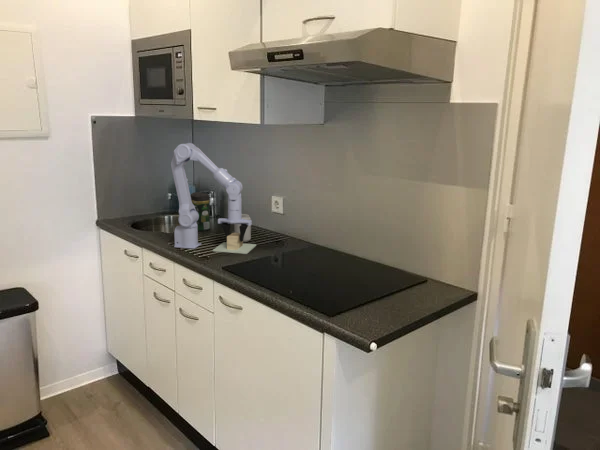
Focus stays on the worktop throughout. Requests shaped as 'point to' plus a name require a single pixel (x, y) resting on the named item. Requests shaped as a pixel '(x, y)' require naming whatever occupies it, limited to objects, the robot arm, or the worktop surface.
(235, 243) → the birch block
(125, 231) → the worktop surface
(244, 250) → the rubber mat
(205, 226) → the coffee jar
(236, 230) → the can
